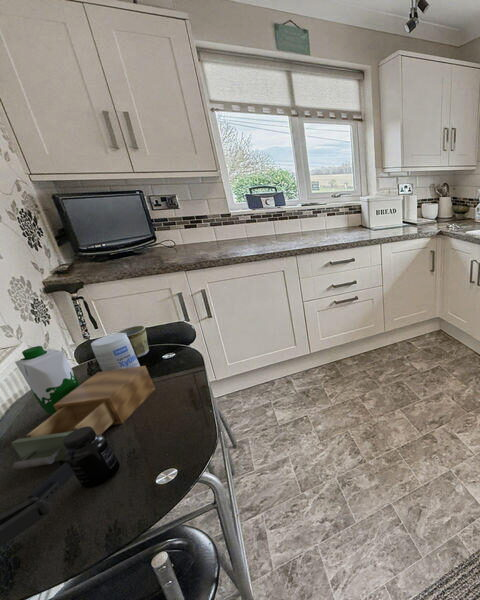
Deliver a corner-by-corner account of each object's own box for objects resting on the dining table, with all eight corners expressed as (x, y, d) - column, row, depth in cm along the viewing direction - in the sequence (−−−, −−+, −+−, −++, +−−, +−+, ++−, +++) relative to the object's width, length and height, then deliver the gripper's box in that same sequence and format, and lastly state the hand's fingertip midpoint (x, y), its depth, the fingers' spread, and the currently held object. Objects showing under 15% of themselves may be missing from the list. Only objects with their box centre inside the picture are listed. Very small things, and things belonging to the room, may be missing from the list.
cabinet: (122, 423, 89) (109, 397, 86) (68, 431, 88) (52, 405, 85) (155, 389, 104) (145, 365, 101) (109, 395, 103) (97, 371, 100)
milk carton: (77, 396, 104) (47, 341, 97) (94, 401, 101) (64, 344, 93) (41, 415, 96) (6, 356, 89) (58, 420, 93) (23, 360, 86)
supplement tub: (133, 381, 109) (115, 343, 104) (101, 387, 108) (81, 348, 102) (147, 366, 118) (132, 330, 113) (118, 371, 117) (101, 335, 111)
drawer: (68, 472, 73) (54, 448, 71) (7, 481, 72) (-9, 458, 70) (124, 415, 91) (114, 395, 89) (76, 422, 90) (64, 402, 88)
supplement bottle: (107, 460, 77) (85, 420, 73) (128, 465, 75) (106, 424, 71) (73, 485, 71) (47, 443, 67) (94, 492, 69) (69, 449, 65)
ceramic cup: (158, 350, 130) (149, 328, 126) (128, 363, 122) (118, 339, 118) (144, 344, 136) (135, 322, 133) (115, 355, 129) (105, 333, 125)
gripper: (-226, 650, 41) (-27, 495, 61) (-23, 626, 41) (108, 480, 61) (-275, 615, 38) (-50, 465, 58) (-58, 590, 39) (91, 449, 58)
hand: (31, 473), depth 60 cm, fingers open, 13 cm apart
